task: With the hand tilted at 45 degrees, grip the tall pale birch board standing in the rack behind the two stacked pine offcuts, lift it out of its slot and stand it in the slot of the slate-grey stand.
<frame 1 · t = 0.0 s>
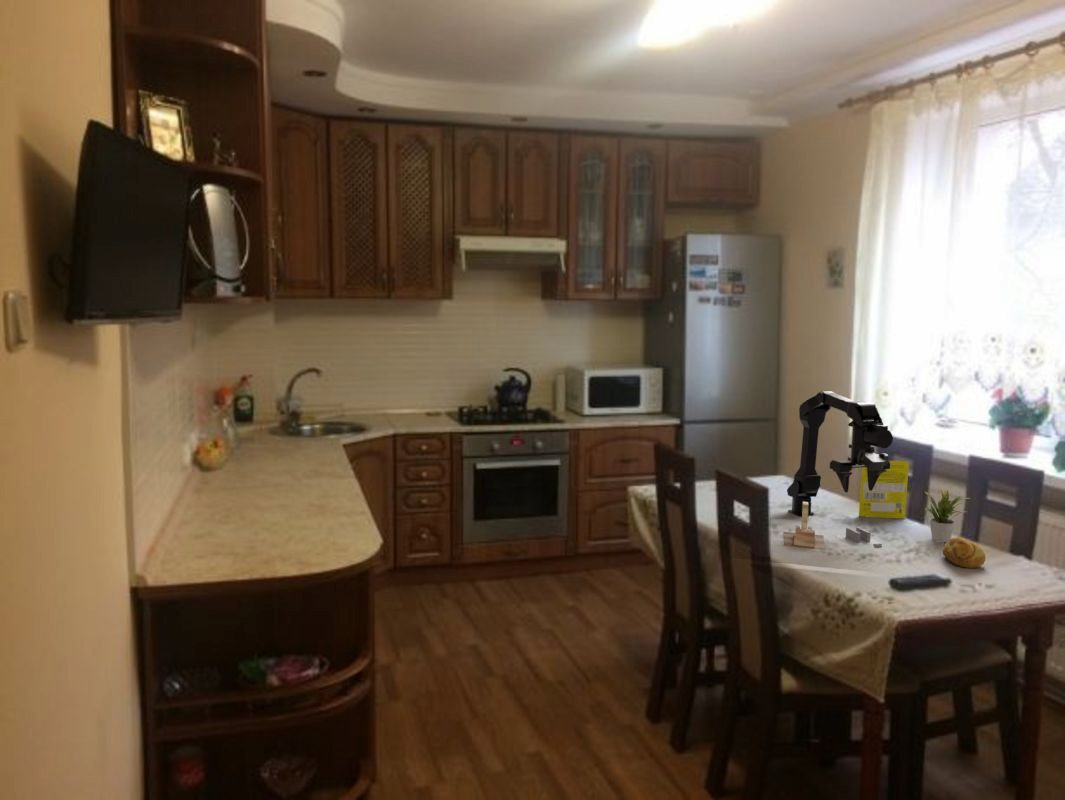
hand: (858, 491, 262), 15 cm above the table, tool pointing down, fingers open, 9 cm apart
birch board: (803, 538, 258), point 1 cm above the table, touching offcut rack
offcut rack: (803, 541, 258), on the table
food package: (881, 518, 286), on the table
bread roll: (961, 563, 240), on the table
house plant: (944, 541, 260), on the table
slate stand: (857, 542, 257), on the table
upper offcut: (804, 537, 252), point 3 cm above the table, touching lower offcut
lower offcut: (804, 544, 252), point 1 cm above the table, touching offcut rack, upper offcut
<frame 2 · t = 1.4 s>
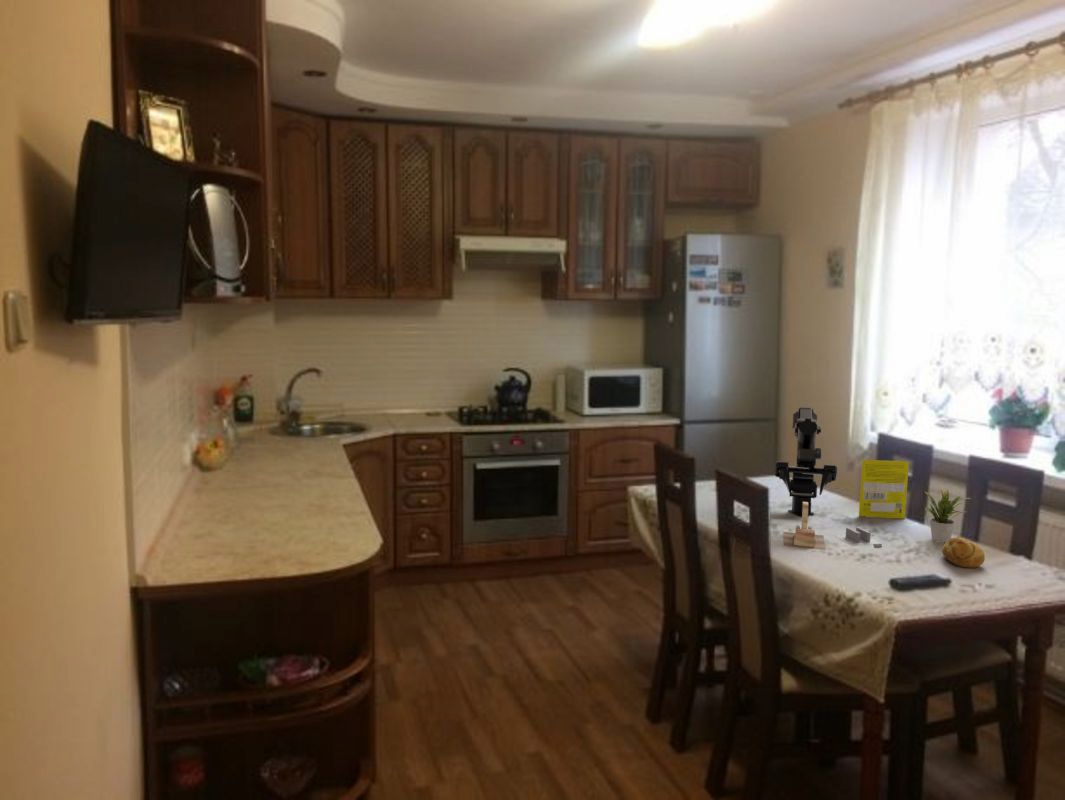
hand: (805, 493, 264), 13 cm above the table, tool tilted 45°, fingers open, 9 cm apart
nothing on the table moved.
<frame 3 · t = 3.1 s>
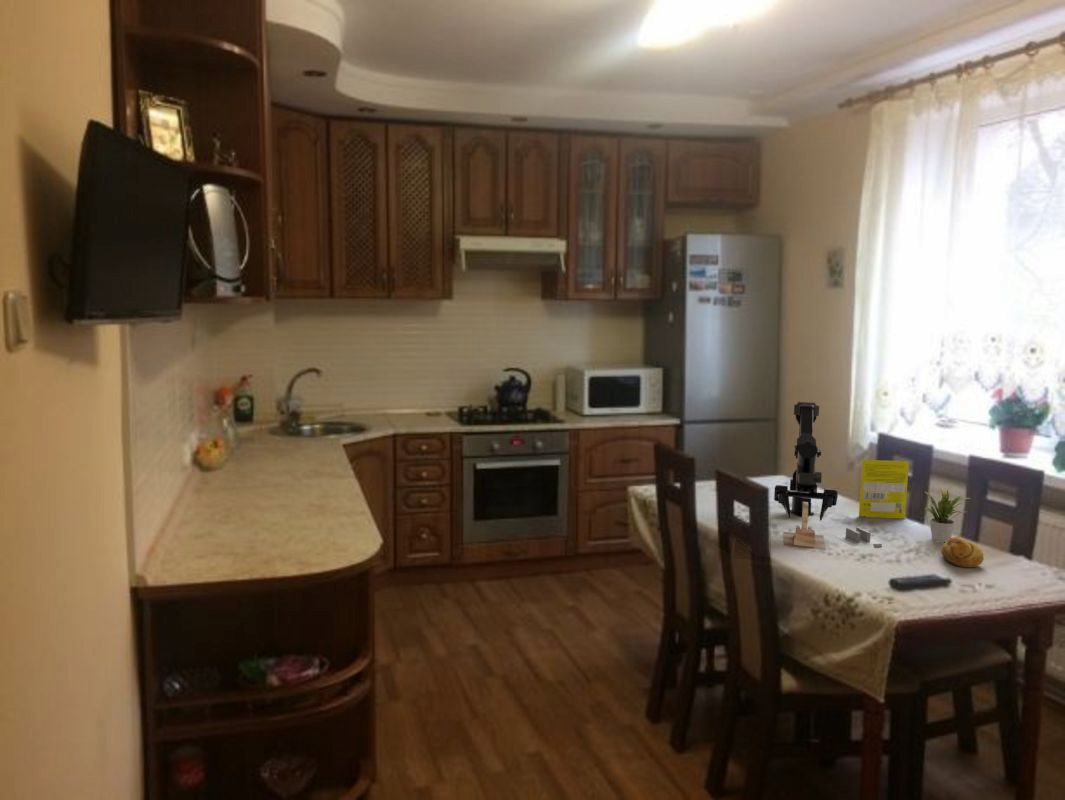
hand: (804, 518, 257), 7 cm above the table, tool tilted 45°, fingers open, 9 cm apart
nothing on the table moved.
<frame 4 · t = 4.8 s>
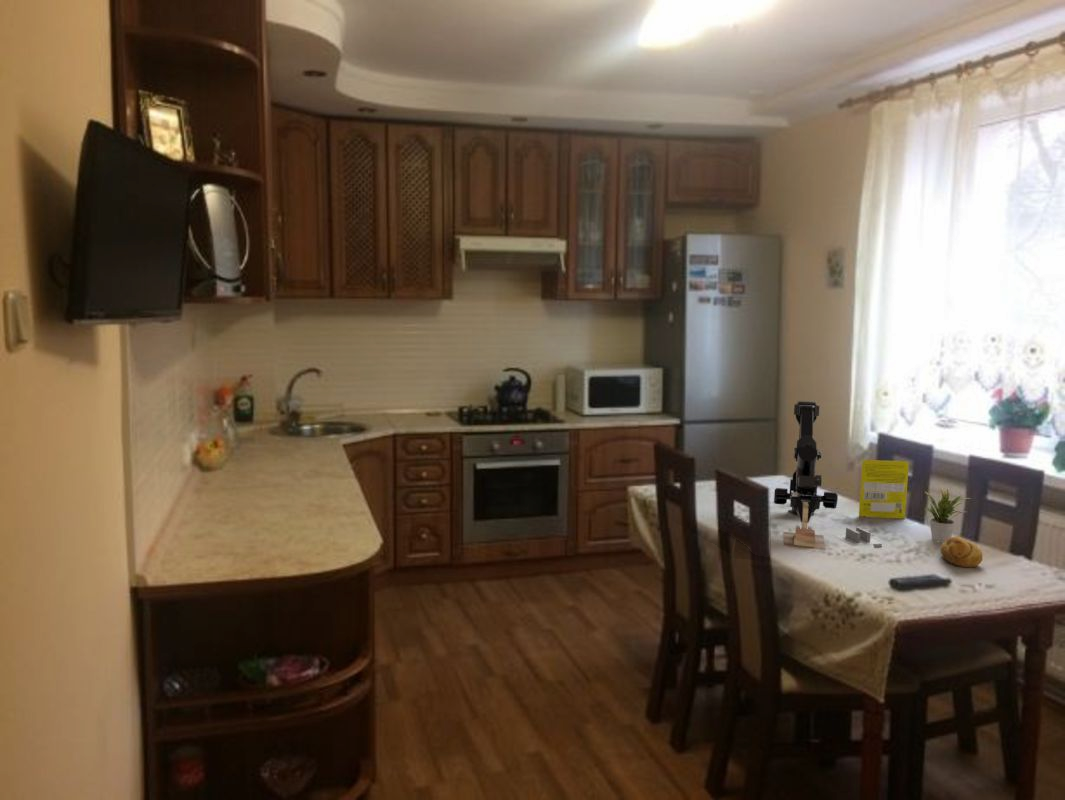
hand: (804, 521, 256), 7 cm above the table, tool tilted 45°, fingers closed on birch board, 1 cm apart
birch board: (803, 538, 258), point 1 cm above the table, touching gripper, offcut rack
everything else where it was.
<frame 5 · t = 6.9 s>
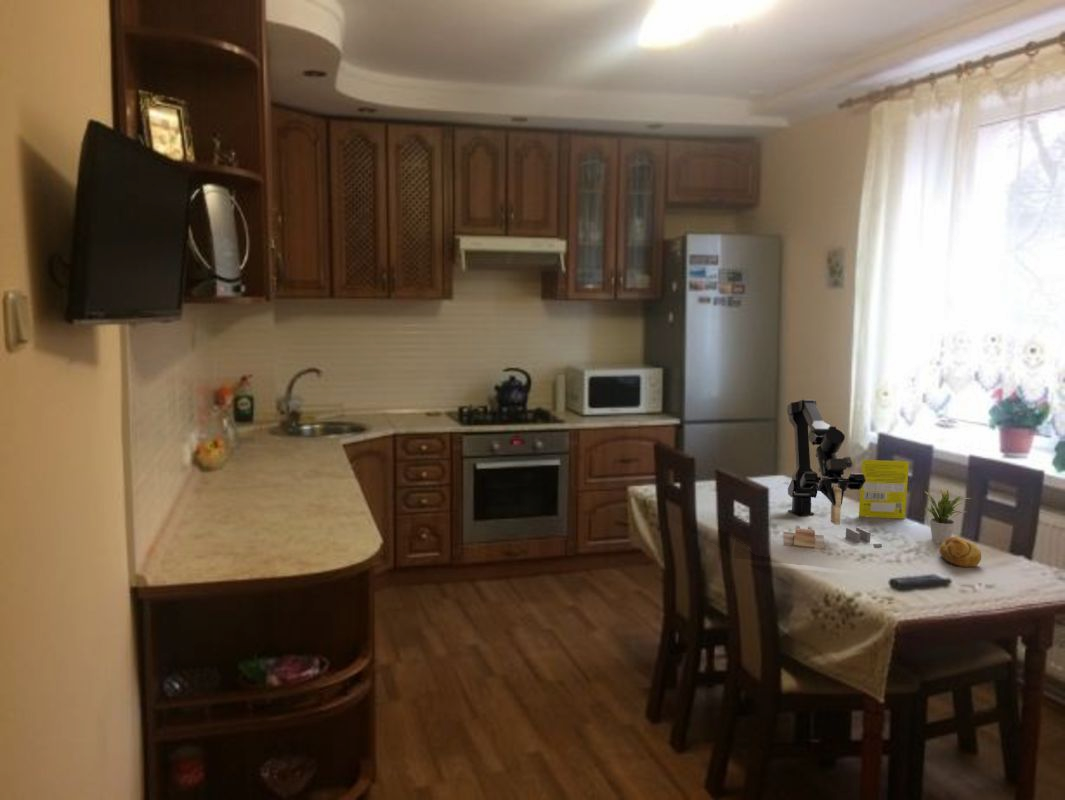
hand: (837, 504, 254), 12 cm above the table, tool tilted 45°, fingers closed on birch board
birch board: (835, 523, 256), point 6 cm above the table, touching gripper
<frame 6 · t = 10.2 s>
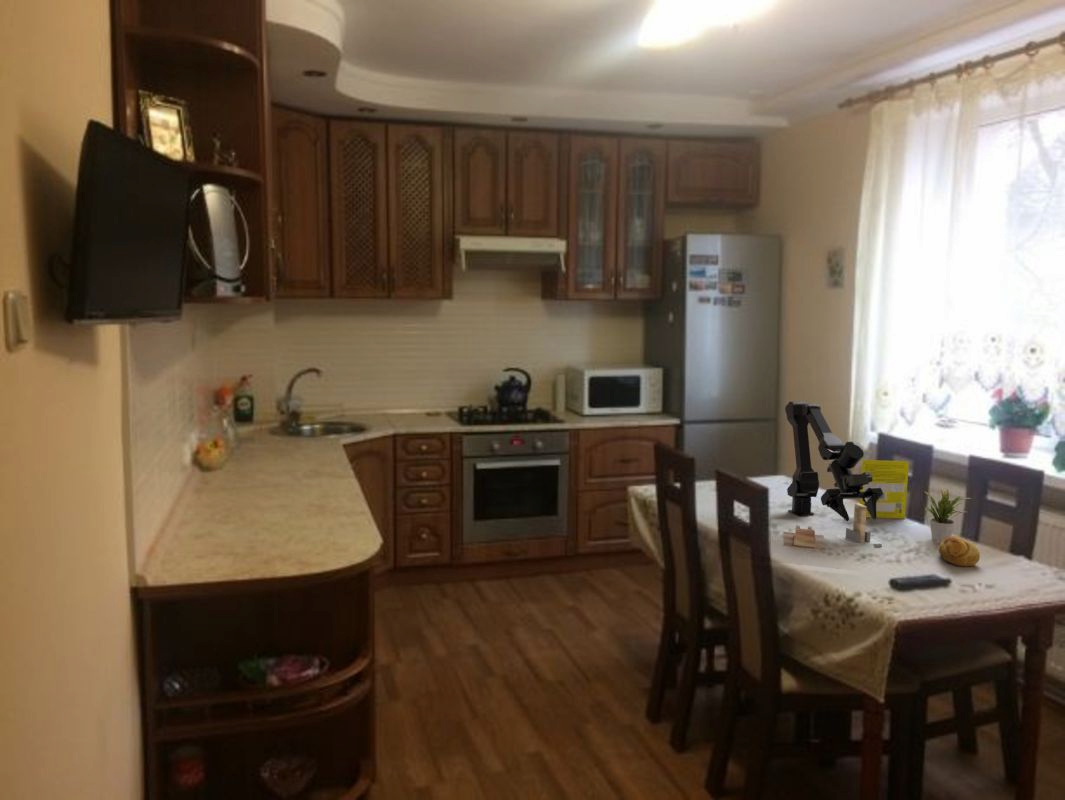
hand: (861, 519, 255), 8 cm above the table, tool tilted 45°, fingers open, 9 cm apart
birch board: (858, 539, 257), point 1 cm above the table, touching slate stand
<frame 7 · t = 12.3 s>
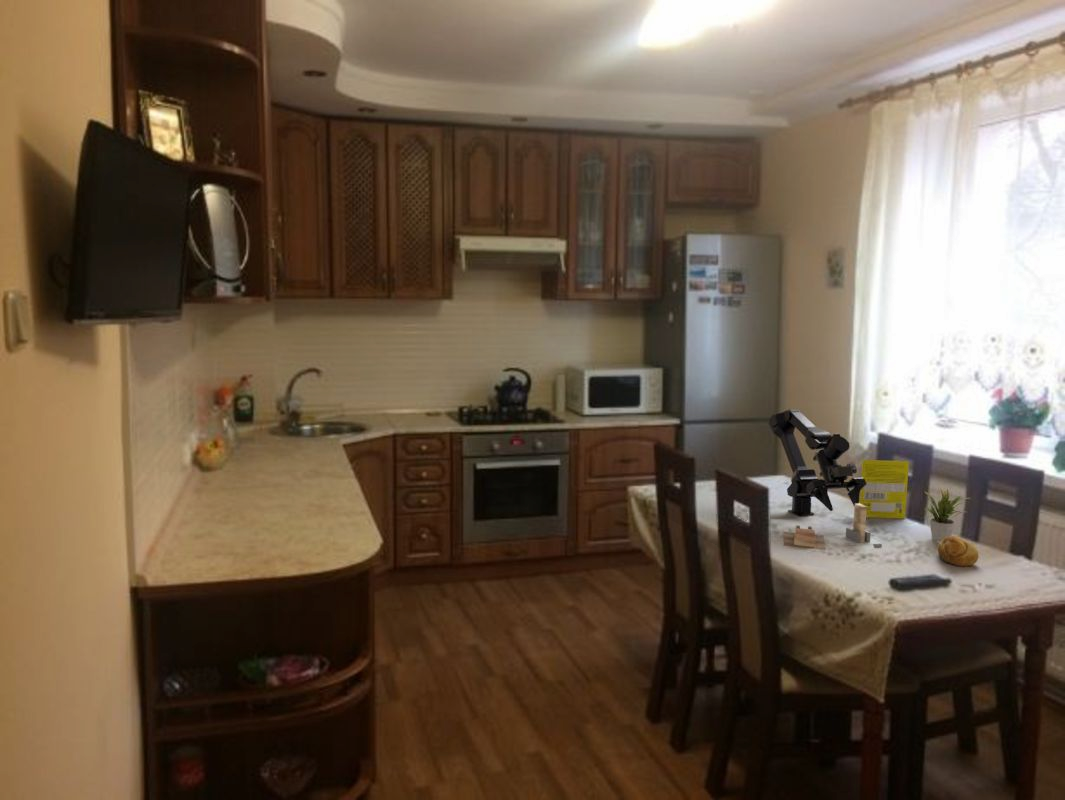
hand: (844, 509, 265), 8 cm above the table, tool tilted 40°, fingers open, 9 cm apart
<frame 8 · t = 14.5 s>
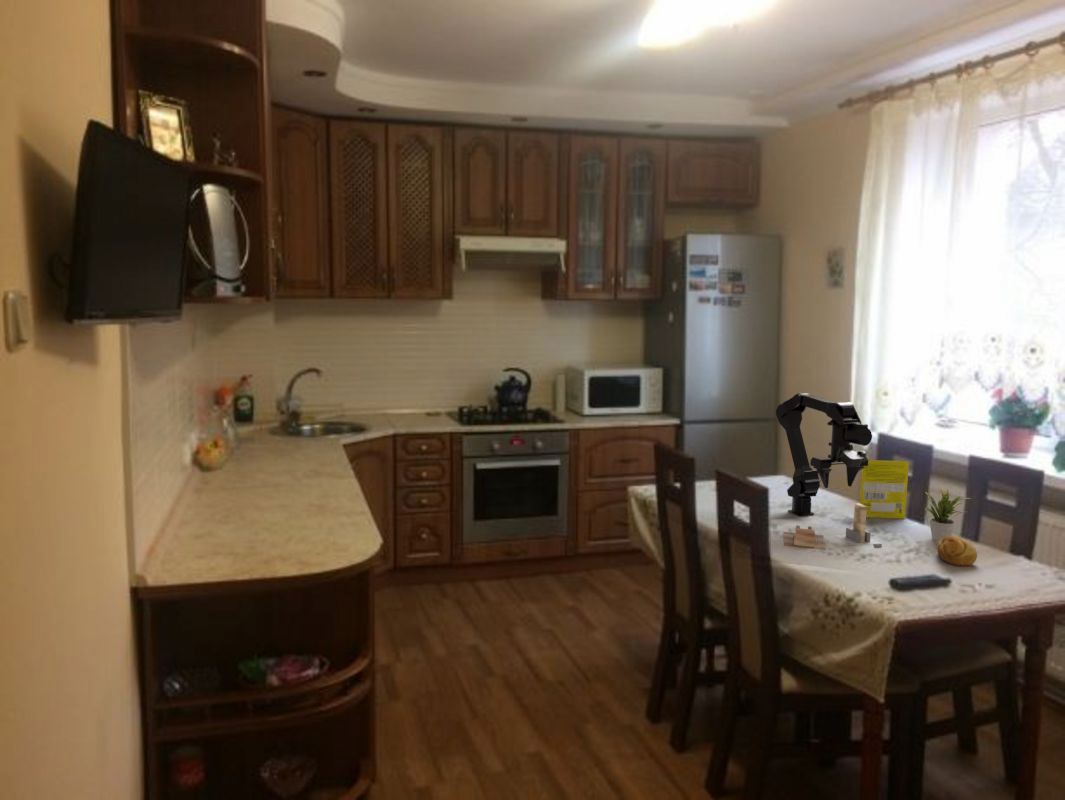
hand: (837, 487, 274), 13 cm above the table, tool pointing down, fingers open, 9 cm apart
at the end: birch board 0.4 cm off-centre on the slate stand, point 1.0 cm above the slate stand's base; birch board tilted 0°; upper offcut moved 0.0 cm from its start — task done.
